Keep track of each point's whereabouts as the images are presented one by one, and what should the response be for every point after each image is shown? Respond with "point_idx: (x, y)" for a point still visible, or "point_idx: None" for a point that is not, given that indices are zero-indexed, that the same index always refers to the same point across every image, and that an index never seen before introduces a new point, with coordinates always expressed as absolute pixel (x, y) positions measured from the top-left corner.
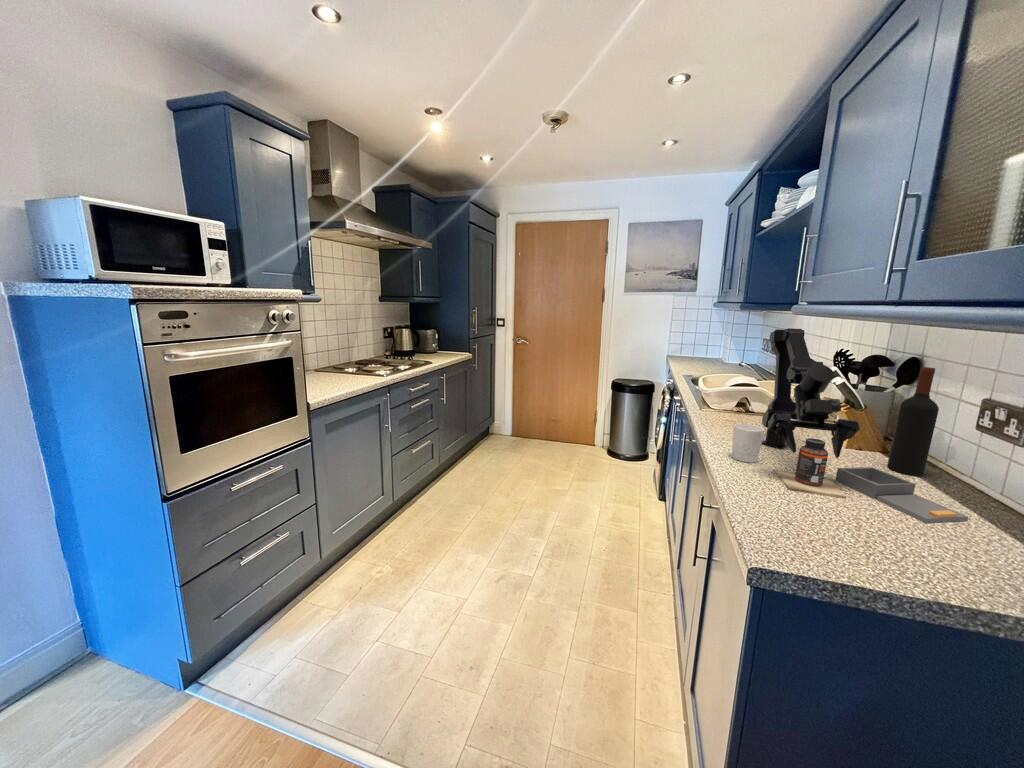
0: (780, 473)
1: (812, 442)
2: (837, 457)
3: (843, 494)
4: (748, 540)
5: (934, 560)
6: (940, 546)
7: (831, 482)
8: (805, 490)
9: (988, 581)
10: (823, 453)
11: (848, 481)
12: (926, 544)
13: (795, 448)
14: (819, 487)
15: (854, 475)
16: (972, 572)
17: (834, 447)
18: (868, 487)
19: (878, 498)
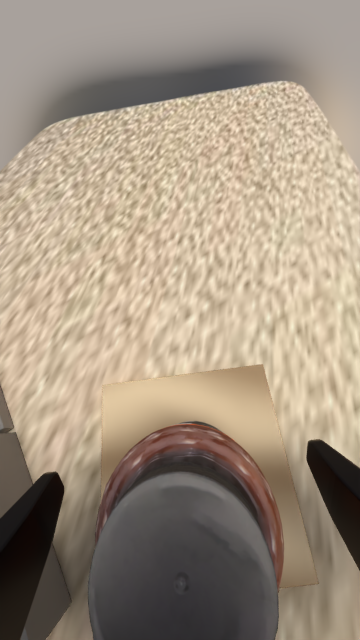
0: (295, 529)
1: (221, 480)
2: (57, 479)
3: (105, 396)
4: (315, 114)
5: (65, 183)
6: (23, 229)
7: None
8: (213, 371)
9: (27, 166)
10: (140, 446)
11: None
12: (44, 224)
13: (323, 451)
14: (165, 425)
15: None
16: (31, 177)
17: (8, 623)
18: (2, 461)
19: (7, 423)
